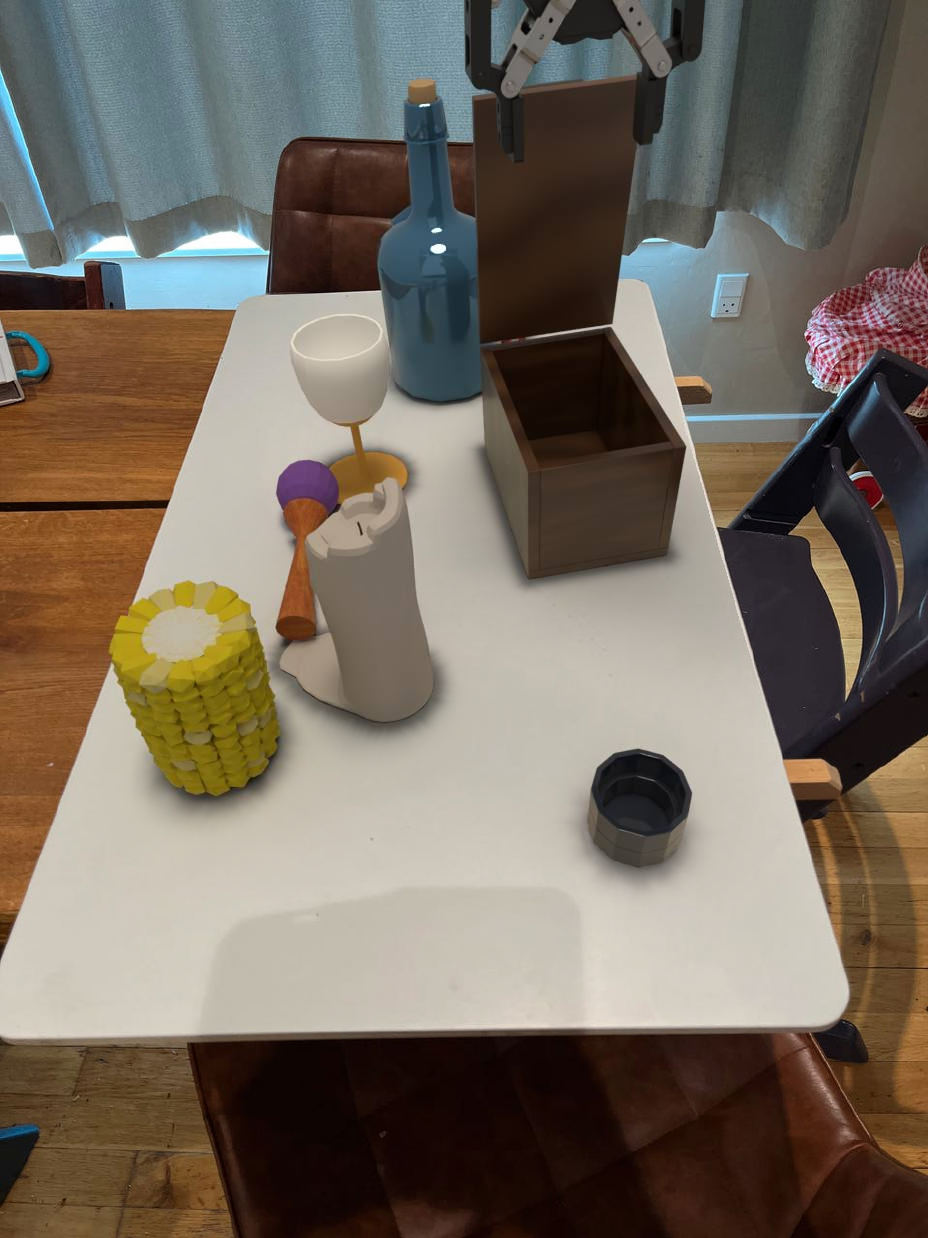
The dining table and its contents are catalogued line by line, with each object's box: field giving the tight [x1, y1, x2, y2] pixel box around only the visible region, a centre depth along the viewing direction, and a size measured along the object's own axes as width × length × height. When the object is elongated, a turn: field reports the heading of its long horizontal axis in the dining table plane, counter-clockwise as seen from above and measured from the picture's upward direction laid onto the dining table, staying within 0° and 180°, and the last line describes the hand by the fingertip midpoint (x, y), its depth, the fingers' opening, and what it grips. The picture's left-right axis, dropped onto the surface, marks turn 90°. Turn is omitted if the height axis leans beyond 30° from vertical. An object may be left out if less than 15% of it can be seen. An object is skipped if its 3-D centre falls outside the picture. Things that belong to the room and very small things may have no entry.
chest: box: [480, 326, 687, 580], centre depth 73 cm, size 20×13×12 cm, turn 10°
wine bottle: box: [375, 78, 502, 403], centre depth 83 cm, size 14×13×30 cm
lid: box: [471, 74, 638, 344], centre depth 67 cm, size 21×13×5 cm
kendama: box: [275, 459, 339, 641], centre depth 72 cm, size 6×6×20 cm
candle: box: [279, 477, 435, 723], centre depth 57 cm, size 7×14×20 cm, turn 65°
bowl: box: [586, 747, 693, 869], centre depth 52 cm, size 6×6×5 cm
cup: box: [289, 313, 409, 506], centre depth 76 cm, size 9×9×16 cm
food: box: [108, 579, 281, 797], centre depth 55 cm, size 15×12×10 cm
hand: (579, 150), depth 52 cm, fingers open, 8 cm apart
